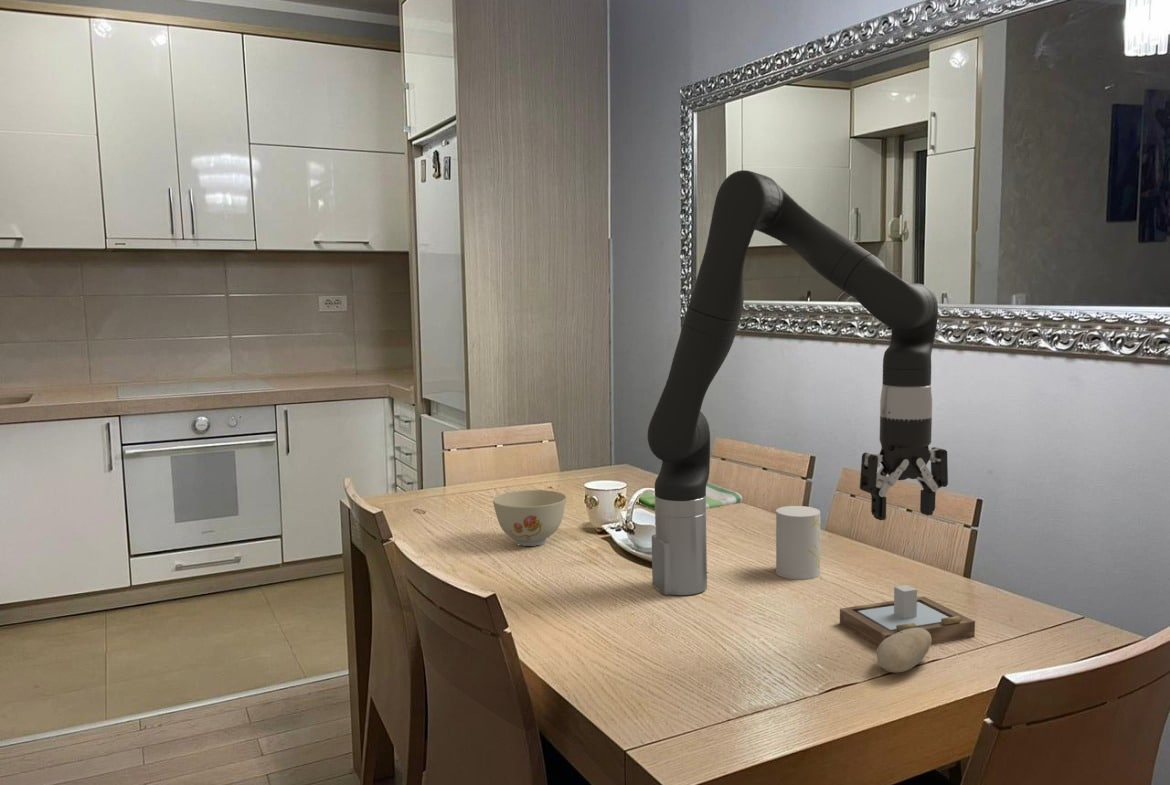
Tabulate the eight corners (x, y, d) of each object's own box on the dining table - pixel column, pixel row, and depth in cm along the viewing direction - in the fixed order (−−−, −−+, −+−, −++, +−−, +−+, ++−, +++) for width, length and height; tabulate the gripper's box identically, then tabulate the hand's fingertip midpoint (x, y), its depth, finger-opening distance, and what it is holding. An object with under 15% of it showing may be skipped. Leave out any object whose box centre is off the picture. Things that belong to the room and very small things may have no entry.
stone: (864, 658, 123) (886, 608, 133) (882, 695, 124) (903, 644, 133) (903, 654, 120) (924, 604, 129) (922, 693, 121) (941, 640, 130)
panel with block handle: (890, 638, 134) (891, 601, 133) (857, 619, 142) (857, 584, 141) (954, 628, 137) (954, 592, 137) (918, 610, 145) (919, 575, 145)
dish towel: (744, 504, 225) (744, 491, 225) (668, 517, 214) (668, 503, 214) (704, 492, 240) (704, 479, 240) (632, 503, 230) (631, 490, 229)
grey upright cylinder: (821, 580, 164) (821, 517, 163) (776, 578, 166) (776, 516, 164) (818, 566, 172) (819, 506, 171) (776, 565, 174) (775, 505, 172)
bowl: (481, 549, 190) (479, 504, 188) (514, 530, 204) (513, 488, 203) (549, 556, 183) (547, 509, 182) (578, 536, 198) (577, 492, 197)
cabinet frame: (885, 651, 132) (885, 629, 131) (839, 622, 143) (839, 602, 143) (974, 636, 136) (975, 615, 136) (923, 610, 148) (924, 590, 147)
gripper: (880, 420, 131) (878, 527, 133) (961, 414, 135) (958, 518, 137) (851, 413, 138) (849, 515, 140) (928, 408, 142) (926, 507, 144)
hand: (903, 516), depth 138 cm, fingers open, 8 cm apart
